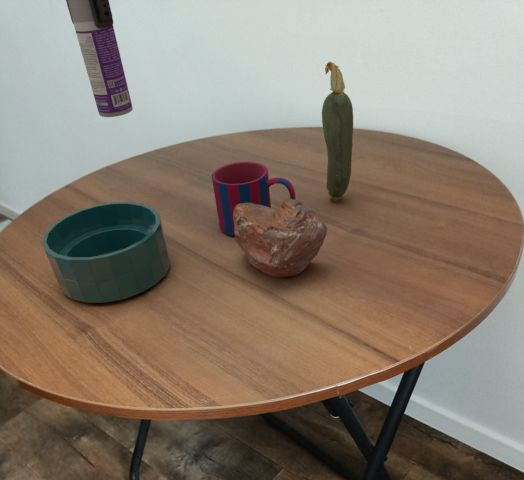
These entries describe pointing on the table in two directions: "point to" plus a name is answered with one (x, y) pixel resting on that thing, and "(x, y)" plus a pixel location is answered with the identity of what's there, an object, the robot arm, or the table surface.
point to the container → (101, 61)
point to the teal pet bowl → (107, 251)
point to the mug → (242, 190)
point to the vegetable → (337, 134)
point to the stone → (279, 236)
